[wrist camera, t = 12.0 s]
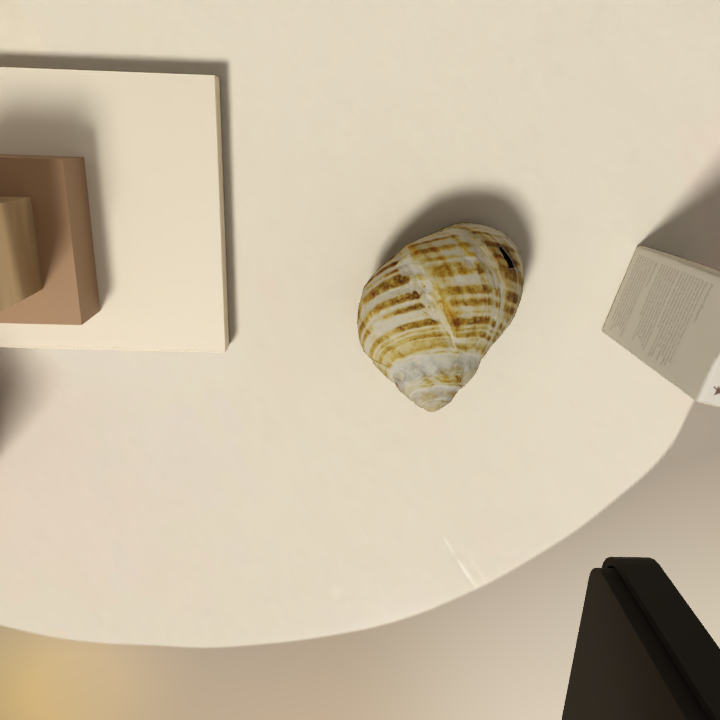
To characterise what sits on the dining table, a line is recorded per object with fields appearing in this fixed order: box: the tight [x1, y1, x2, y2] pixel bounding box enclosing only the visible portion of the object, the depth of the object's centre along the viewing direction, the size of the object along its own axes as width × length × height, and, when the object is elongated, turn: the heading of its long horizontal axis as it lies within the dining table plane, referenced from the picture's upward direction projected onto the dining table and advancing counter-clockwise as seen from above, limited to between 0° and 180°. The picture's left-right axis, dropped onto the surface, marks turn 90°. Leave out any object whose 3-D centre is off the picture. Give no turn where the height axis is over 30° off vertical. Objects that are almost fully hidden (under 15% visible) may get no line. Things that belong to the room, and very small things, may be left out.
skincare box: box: [602, 246, 720, 407], centre depth 36 cm, size 6×4×12 cm
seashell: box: [357, 223, 524, 412], centre depth 38 cm, size 10×10×10 cm
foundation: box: [0, 67, 229, 352], centre depth 37 cm, size 20×16×4 cm
